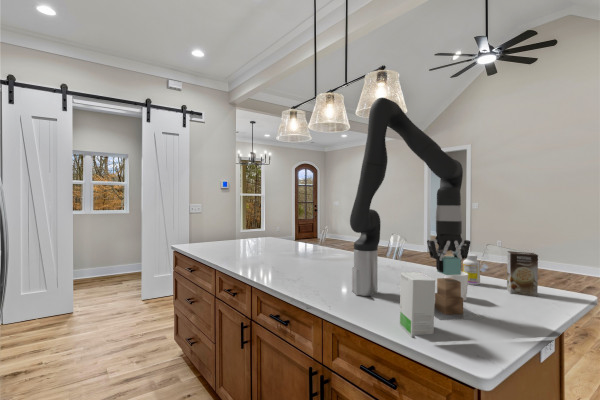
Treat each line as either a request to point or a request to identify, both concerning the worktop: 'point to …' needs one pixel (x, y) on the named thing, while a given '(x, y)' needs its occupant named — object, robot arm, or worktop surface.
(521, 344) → the worktop surface
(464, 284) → the white cup
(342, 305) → the worktop surface
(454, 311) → the tower bottom
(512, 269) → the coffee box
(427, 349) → the worktop surface
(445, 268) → the teal cube
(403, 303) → the skincare box
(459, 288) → the block
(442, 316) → the pale flat pad
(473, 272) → the supplement bottle
